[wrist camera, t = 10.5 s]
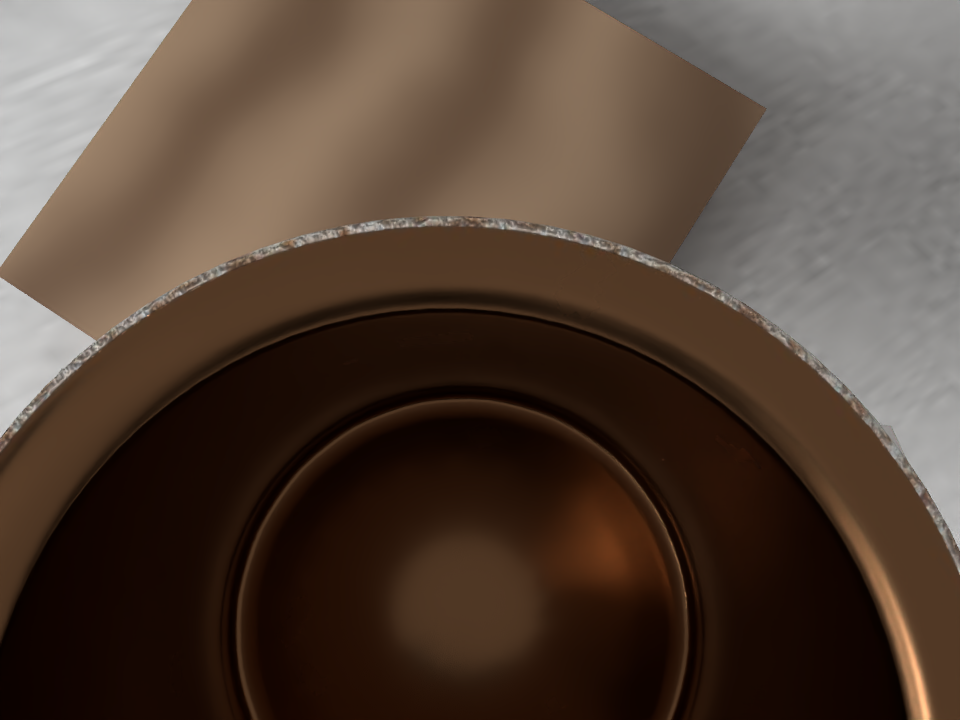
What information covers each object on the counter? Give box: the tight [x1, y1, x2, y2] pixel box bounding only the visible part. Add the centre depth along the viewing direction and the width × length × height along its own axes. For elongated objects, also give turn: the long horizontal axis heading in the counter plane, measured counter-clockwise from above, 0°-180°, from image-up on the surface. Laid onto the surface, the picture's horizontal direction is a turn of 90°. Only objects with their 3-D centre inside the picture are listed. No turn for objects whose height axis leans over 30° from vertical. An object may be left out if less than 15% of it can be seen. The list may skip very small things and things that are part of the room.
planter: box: [0, 216, 960, 720], centre depth 13 cm, size 11×11×10 cm
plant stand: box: [0, 0, 766, 341], centre depth 31 cm, size 18×18×5 cm
